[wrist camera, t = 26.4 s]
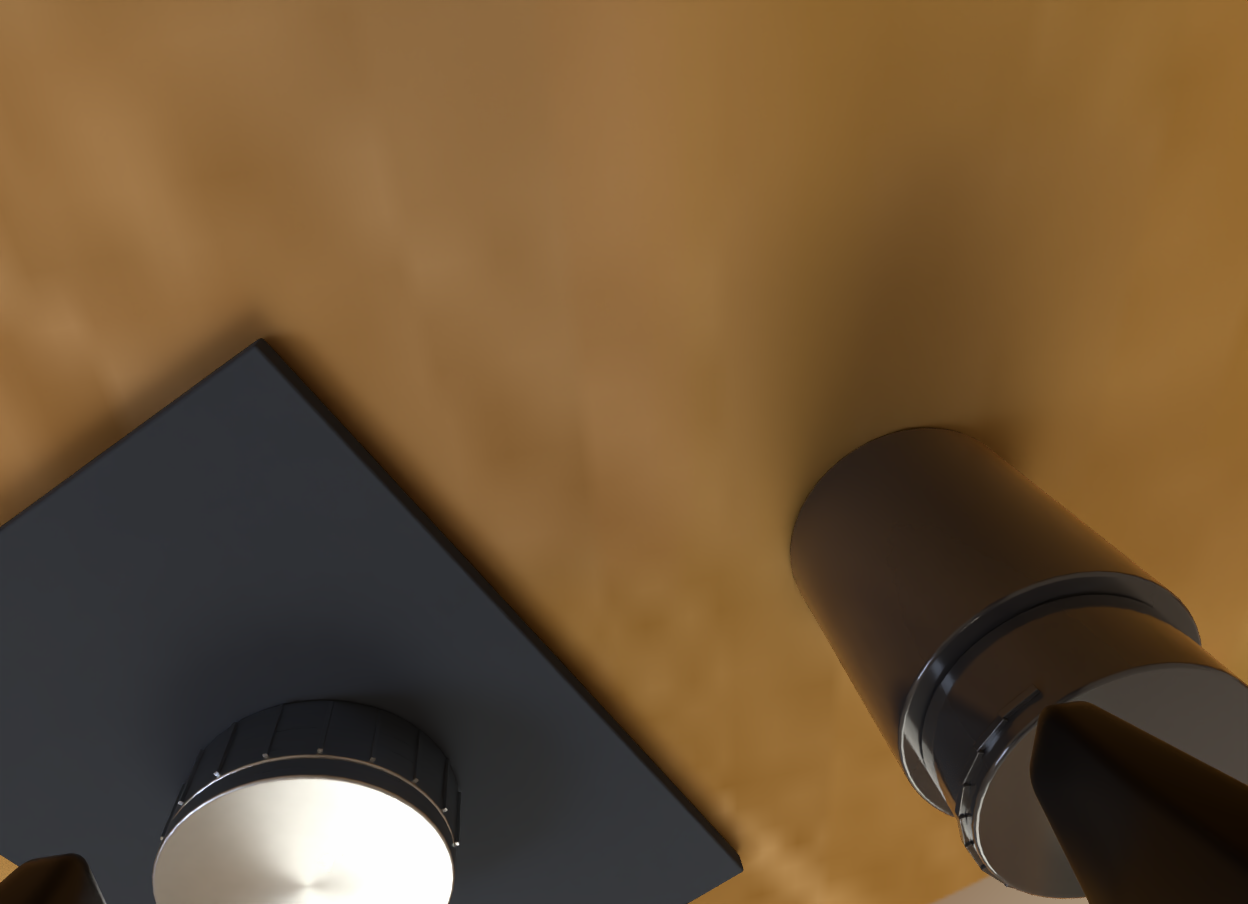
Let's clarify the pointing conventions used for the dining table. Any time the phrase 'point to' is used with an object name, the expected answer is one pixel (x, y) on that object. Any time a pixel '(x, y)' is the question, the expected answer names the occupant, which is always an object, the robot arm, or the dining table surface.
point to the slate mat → (299, 656)
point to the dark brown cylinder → (996, 635)
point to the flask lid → (313, 813)
